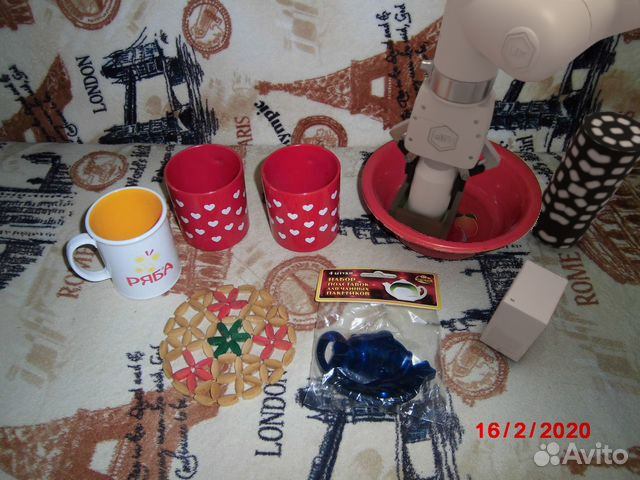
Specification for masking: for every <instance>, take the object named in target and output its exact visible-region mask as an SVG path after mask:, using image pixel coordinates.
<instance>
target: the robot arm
mask: <svg viewBox="0 0 640 480" xmlns="http://www.w3.org/2000/svg"><path fill="white" fill-rule="evenodd" d="M444 5H445V6H444V11H443V14H442V19H441V24H440V28H439V33H438V39H437V43H436V49H435V53H434V57H433V58H432V59H428V60H427V59H424V58H423V59H421V63H420V66H419V71H421V72H424V74H427V77H426V78H425V79H424V81H423V82H422V83H421V85H420V88H419V90H418V92H417V95H416V98H415V100H414V103H413V107H412V110H411V112H410V113H411V114H410V117H409V118H406V119H405V120H403V121H401V122H399V123H397V124H394V125H393V126H392V127H391V128H390V130H389V132H388V134H389V135H390V137H391V139H392V140H393V141H394V142H395V143H396V146H397V149H399V151H400V152H401V154H402V155H403V156H404V157H403V159H404V161H405V165H404V166H405V167H404V172H403V174H404V175H406V176H407V179H406V183H408V184H409V183H411V182H412V180H413V176H414V172H415V167H416V163H417V161H418V160H419V159H420V158H421V157H425V158H428V159H432V160H435V161H438V162H441V163H445V164H448V165H451V166H454V167H458V169H459V173H458V176H457V178H456V181H455V184H454V187H453V190H452V193H451V198H454V199H455V197H456V195H457V192H458V191H459V192H463V190H464V188H465V187H466V185H467V182H468V181H469V180H470V178H472V177H475V176H477V175H481V174H483V173H485V171H490V170H493V169H495V168H498V167H499V166H500V164H501V161H502V158H501V155H499V153H498V152H497V150H496V148H495V146H493V144H492V143H491V141H490V139H489V138H488V134H489V131H490V128H491V124H492V120H493V116H494V111H495V103H496V91H495V89H494V85H495V82H496V79H497V76H498V73H499V70H500V71H502V72H504V73H505V74H506V75H507V76H510V77H511V78H513V79H515V80H518V81H520V82H525V83H538V82H542V81H544V80H547V79H549V78H551V77H552V76H554V75H555V74H557V73H558V72H559V71H561V70H562V69H563V68H565V67H566V66H567V65H568V64H570V63H571V62H572V61H574V60H575V59H577V57H578V56H580V55H581V54H582V53H584V52H585V51H586V50H588V49H589V48H590V47H591V46H594V45H595V44H596V43H597V42H599V41H601V40H604V39H606V38H607V39H608V38H609V37H612V36H615V35H620V34H622V33H626V32H629V31H632V30H633V31H634V30H636V29H640V0H445V4H444ZM481 155H482V156H483V157H484V159H483V158H481V159H480V157H481Z"/></svg>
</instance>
